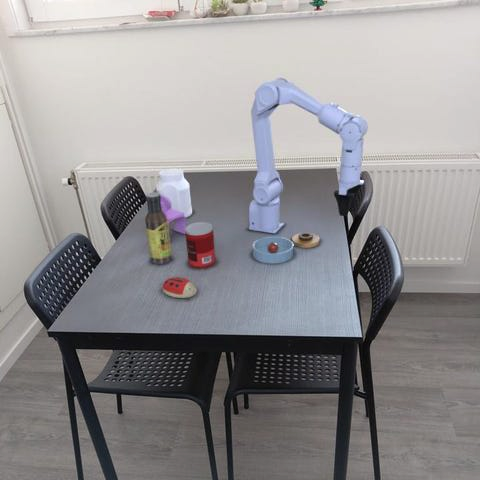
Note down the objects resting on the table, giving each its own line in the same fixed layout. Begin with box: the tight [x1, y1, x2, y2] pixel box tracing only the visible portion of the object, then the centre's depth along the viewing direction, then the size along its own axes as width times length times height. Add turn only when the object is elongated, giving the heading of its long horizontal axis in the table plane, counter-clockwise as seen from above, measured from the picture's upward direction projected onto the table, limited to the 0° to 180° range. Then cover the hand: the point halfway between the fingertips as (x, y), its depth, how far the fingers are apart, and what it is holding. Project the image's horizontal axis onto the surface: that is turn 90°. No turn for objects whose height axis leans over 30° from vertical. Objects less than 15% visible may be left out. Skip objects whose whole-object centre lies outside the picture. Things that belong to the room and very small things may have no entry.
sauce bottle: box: [145, 191, 172, 265], centre depth 136 cm, size 6×6×20 cm
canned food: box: [184, 221, 216, 269], centre depth 136 cm, size 8×8×11 cm
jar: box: [155, 167, 193, 219], centre depth 168 cm, size 12×10×15 cm
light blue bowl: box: [251, 236, 295, 265], centre depth 141 cm, size 12×12×3 cm
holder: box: [291, 232, 320, 249], centre depth 148 cm, size 8×8×2 cm
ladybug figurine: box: [161, 276, 198, 299], centre depth 125 cm, size 7×10×4 cm
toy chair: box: [160, 194, 187, 235], centre depth 152 cm, size 8×9×15 cm
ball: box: [268, 242, 278, 253], centre depth 141 cm, size 3×3×3 cm
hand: (346, 210), depth 141 cm, fingers open, 7 cm apart
